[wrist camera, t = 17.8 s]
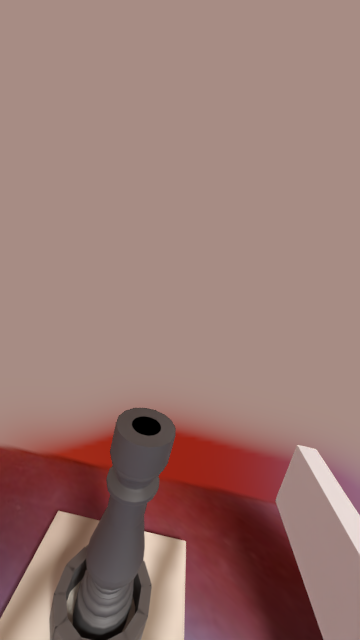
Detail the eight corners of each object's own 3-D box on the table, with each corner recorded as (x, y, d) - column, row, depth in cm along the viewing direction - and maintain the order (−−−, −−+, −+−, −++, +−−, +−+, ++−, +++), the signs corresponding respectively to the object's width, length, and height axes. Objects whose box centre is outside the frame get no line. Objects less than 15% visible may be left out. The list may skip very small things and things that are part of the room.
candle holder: (96, 669, 26) (150, 461, 21) (60, 615, 29) (98, 421, 24) (138, 608, 31) (190, 429, 26) (104, 567, 34) (143, 399, 29)
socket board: (183, 548, 40) (191, 523, 39) (175, 817, 21) (191, 782, 20) (57, 518, 40) (61, 492, 39) (-71, 760, 21) (-69, 722, 20)
